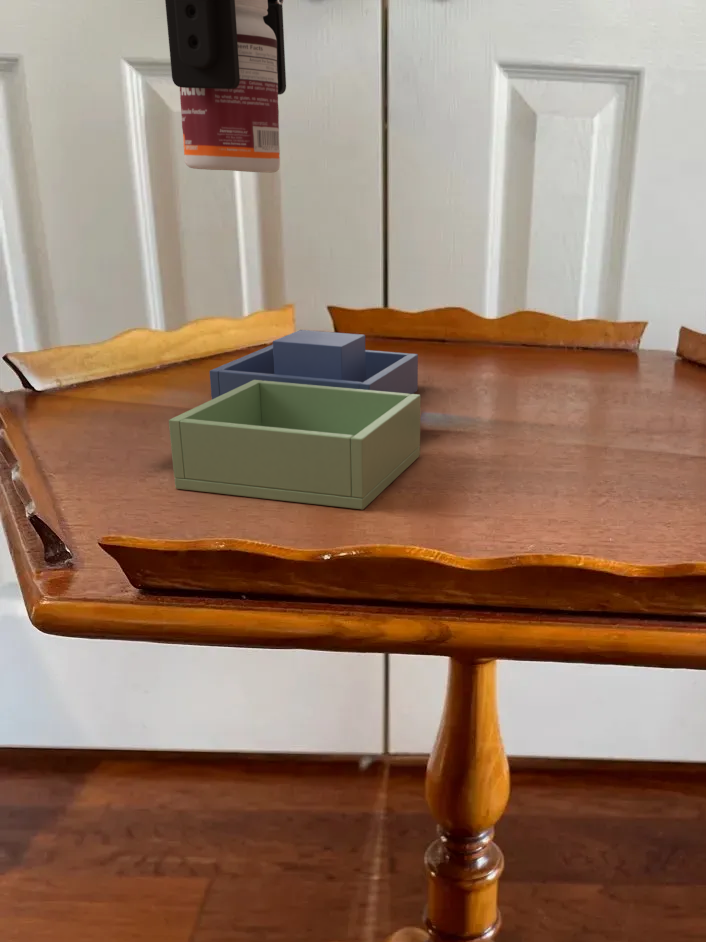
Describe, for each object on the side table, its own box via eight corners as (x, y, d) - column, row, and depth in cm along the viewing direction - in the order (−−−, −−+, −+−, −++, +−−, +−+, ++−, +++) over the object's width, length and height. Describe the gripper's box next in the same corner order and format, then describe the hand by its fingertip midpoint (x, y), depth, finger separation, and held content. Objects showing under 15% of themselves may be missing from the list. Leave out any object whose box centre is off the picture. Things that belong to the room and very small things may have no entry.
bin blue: (213, 429, 64) (209, 370, 62) (279, 394, 72) (276, 342, 71) (370, 444, 62) (369, 384, 60) (417, 407, 71) (418, 354, 69)
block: (276, 413, 65) (272, 340, 63) (302, 398, 69) (300, 329, 67) (343, 419, 64) (341, 346, 62) (366, 404, 68) (365, 334, 66)
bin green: (174, 489, 53) (168, 419, 51) (257, 439, 62) (253, 379, 60) (363, 510, 51) (362, 438, 49) (420, 456, 60) (420, 394, 58)
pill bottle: (174, 167, 53) (161, -23, 50) (264, 171, 55) (257, -11, 52) (197, 169, 49) (185, -37, 46) (292, 173, 51) (287, -23, 48)
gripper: (208, -317, 51) (235, 97, 59) (-10, -510, 36) (65, 79, 44) (352, -324, 50) (359, 100, 58) (186, -528, 35) (227, 83, 43)
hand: (232, 86), depth 51 cm, fingers closed on pill bottle, 4 cm apart
